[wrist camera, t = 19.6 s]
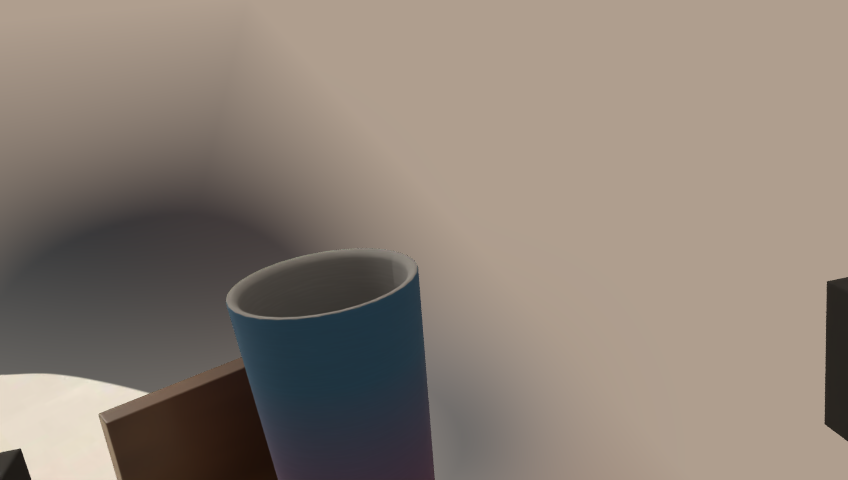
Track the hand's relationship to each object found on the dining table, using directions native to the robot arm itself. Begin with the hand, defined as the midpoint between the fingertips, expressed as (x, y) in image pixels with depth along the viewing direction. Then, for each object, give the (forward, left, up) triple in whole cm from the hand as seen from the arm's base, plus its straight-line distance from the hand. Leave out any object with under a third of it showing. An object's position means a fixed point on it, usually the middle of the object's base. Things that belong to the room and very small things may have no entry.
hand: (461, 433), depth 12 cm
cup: (-5, -14, -17) cm, 23 cm away
